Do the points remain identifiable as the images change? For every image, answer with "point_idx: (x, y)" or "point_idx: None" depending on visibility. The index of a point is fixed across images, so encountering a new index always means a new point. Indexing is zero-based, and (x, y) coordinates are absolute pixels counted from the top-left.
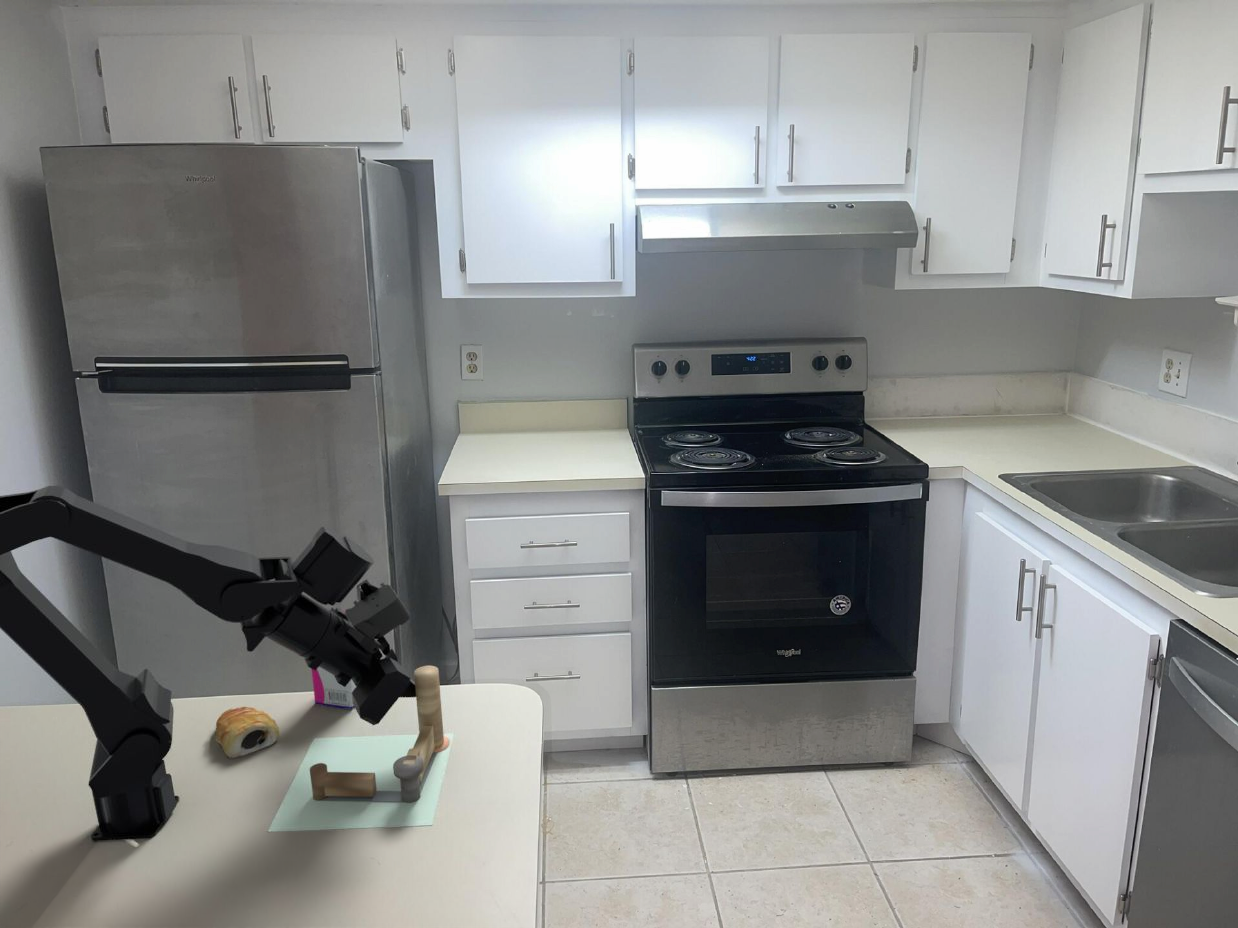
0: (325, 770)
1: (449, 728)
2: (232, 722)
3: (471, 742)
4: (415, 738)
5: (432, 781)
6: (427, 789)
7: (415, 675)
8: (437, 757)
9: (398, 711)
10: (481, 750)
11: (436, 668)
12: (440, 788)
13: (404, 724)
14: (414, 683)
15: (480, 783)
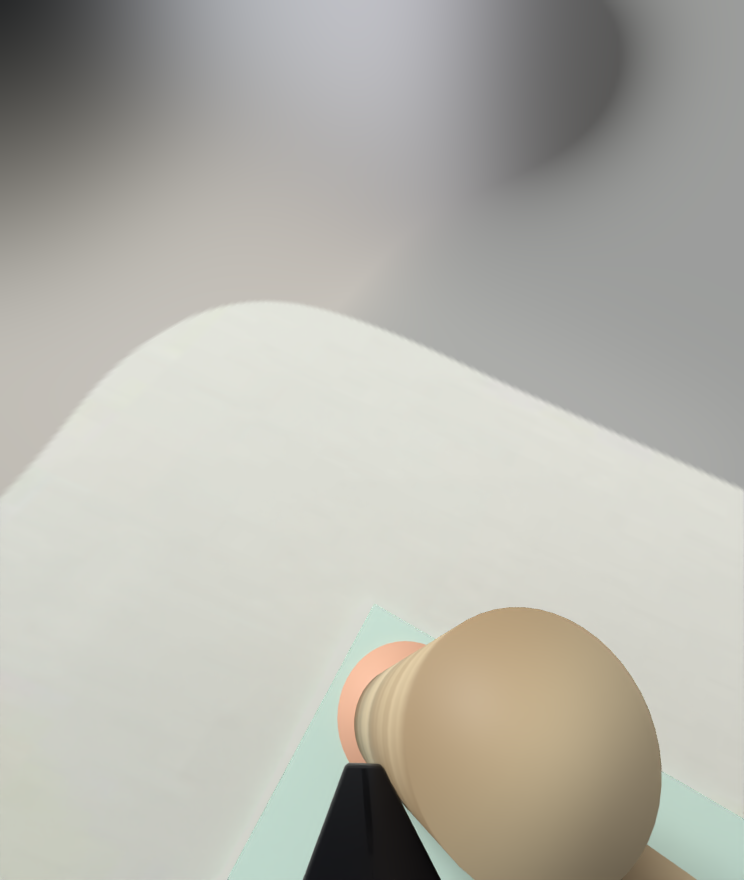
0: None
1: (312, 603)
2: None
3: (452, 567)
4: (315, 780)
5: (675, 831)
6: (726, 877)
7: None
8: None
9: (15, 768)
10: (519, 556)
11: (513, 619)
12: (731, 814)
13: (150, 781)
14: (375, 828)
15: (716, 644)
